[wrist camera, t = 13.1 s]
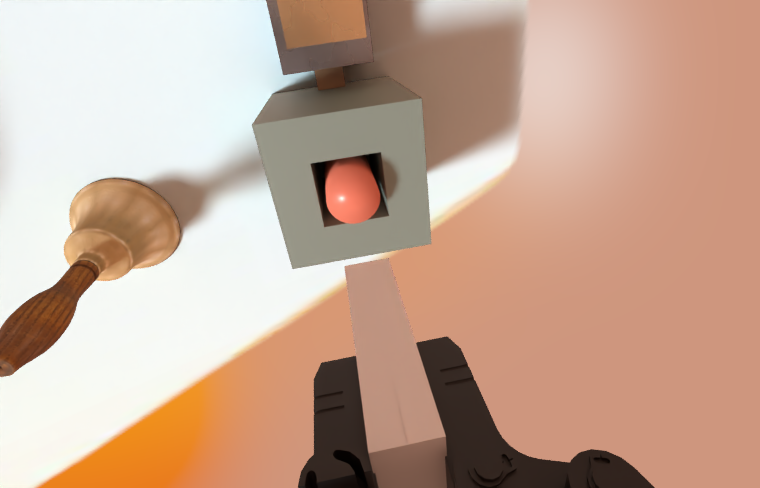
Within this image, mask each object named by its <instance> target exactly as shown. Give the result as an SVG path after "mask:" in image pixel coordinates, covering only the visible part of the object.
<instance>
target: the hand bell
mask: <svg viewBox="0 0 760 488" xmlns="http://www.w3.org/2000/svg"><path fill="white" fill-rule="evenodd" d="M69 218H70V225H71V229H72V231H73V232H72V233H71V234H70V236H69V237H68V238H67V240H66V242H65V245H64V255H65V258H66V260H67V262H68V263H69V265H70V266H71V267H70V268H69V270H68V271H67V272H66V273H65V274H64V275H63V277H62V278H61V279H60V280H59V281H58V282H57V283H56V284H55V285H54V286H53V287H51V288H49V289H48V290H45V291H43V292H41V293H39V294H37V295H35V296H34V297H32V298H31V299H29V300H28V301H26V302H25V303H24V304H23V305H21V306H20V307H19V308H18V309H17V310H16V311H15V312H14V313H12V314H11V315H10V317H9V318H8V319H7V320H6V321H5V323H4V324H3V325H2V327H1V329H0V377H4V376H10V375H12V374H13V373H14V372H16V371H17V370H18V369H19V368H21V367H22V366H23V365H25V364H26V363H28V362H30V361H32V360H33V359H35V358H36V357H38V356H39V355H41V354H43V353H44V352H45V351H47V350H48V349H49V348H50V347H51V346H52V345H53V344H54V343H55V342H56V341H57V340H58V339H59V338H60V337H61V335H62V334H63V333H64V332H65V330H66V329H67V327H68V326H69V324H70V322H71V320H72V318H73V316H74V313H75V310H76V306H77V302H78V300H79V298H80V297H81V295H82V294H83V293H84V292H85V291H86V290H87V289H88V288H89V287H90V286H91V285H92V283H93V282H94V281H95V280H98V281H110V280H115V279H118V278H120V277H122V276H124V275H125V274H127V273H128V272H129V271H130V270H131V269H138V268H146V267H151V266H154V265H157V264H159V263H161V262H163V261H164V260H166V259H167V258H168V257H170V256H171V255H172V253H173V252H174V251H175V249H176V247H177V245H178V242H179V238H180V226H179V222H178V219H177V217H176V215H175V213H174V211H173V209H172V208H171V206H170V205H169V204H168V203H167V202H166V201H165V200H164V199H163V198H162V197H161V196H160V195H158V194H157V193H156V192H154V191H153V190H151V189H149V188H147V187H145V186H143V185H141V184H138V183H135V182H132V181H128V180H122V179H105V180H100V181H96V182H93V183H91V184H89V185H87V186H85V187H84V188H82V189H81V190H80V191H79V192H78V193H77V194H76V196H75V197H74V199H73V201H72V203H71V207H70V213H69Z"/></svg>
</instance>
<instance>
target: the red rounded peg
mask: <svg viewBox="0 0 760 488" xmlns="http://www.w3.org/2000/svg"><path fill="white" fill-rule="evenodd" d="M324 172H325V189H326V203H327V207H328V209H329V211H330V213H331V214H332V215H333V216H334V217H335V218H336V219H338V220H340V221H342V222H344V223H349V224H356V223H361V222H364V221H366V220H368V219H369V218H370V217H372V216H373V215H374V213H375V212H376V211H377V209H378V207H379V204H380V192H379V189H378V186H377V184H376V181H375V179H374V176H373V173H372V171H371V168H370V166H369V163H368V161H367V158H366V155H360V156H354V157H347V158H341V159H335V160H329V161H324Z"/></svg>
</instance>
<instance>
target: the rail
mask: <svg viewBox="0 0 760 488" xmlns="http://www.w3.org/2000/svg"><path fill="white" fill-rule="evenodd" d="M314 71H315V76H316V81H317V87H318V91H319V90H325V89H332V88H338V87H345V79H344V73H343V67H342V66H341V67H334V68H327V69H321V70H314Z"/></svg>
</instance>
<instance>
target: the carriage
mask: <svg viewBox="0 0 760 488" xmlns="http://www.w3.org/2000/svg"><path fill="white" fill-rule="evenodd" d="M266 1H267V6H268V10H269V14H270V19H271V23H272V28H273V32H274V36H275V41H276V45H277V49H278V54H279V58H280V63H281V67H282V71H283V75H287V74H294V73H301V72H307V71H314V70H321V69H327V68H334V67H341V66H348V65H354V64H361V63H368V62H374V60H373V52H372V43H371V35H370V27H369V18H368V10H367V2H366V0H266Z"/></svg>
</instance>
